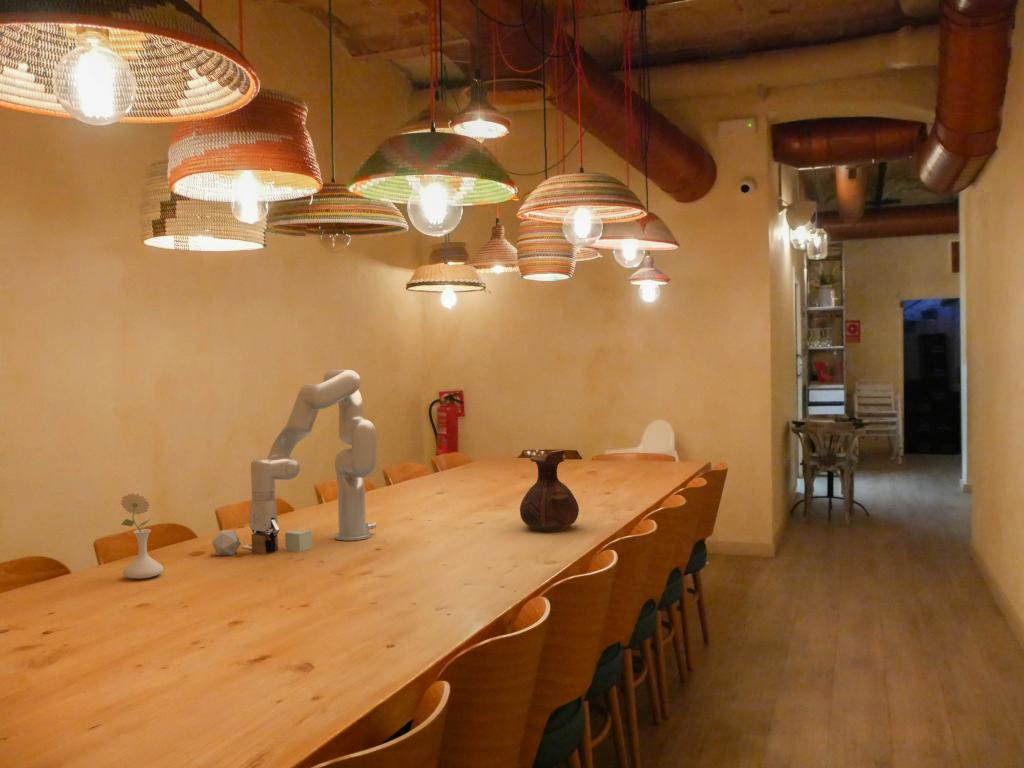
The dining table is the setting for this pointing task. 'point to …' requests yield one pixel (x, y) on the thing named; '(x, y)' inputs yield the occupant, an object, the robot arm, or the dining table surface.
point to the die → (226, 542)
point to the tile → (248, 546)
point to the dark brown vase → (549, 497)
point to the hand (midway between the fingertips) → (264, 549)
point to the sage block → (298, 540)
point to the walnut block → (262, 543)
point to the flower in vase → (139, 540)
